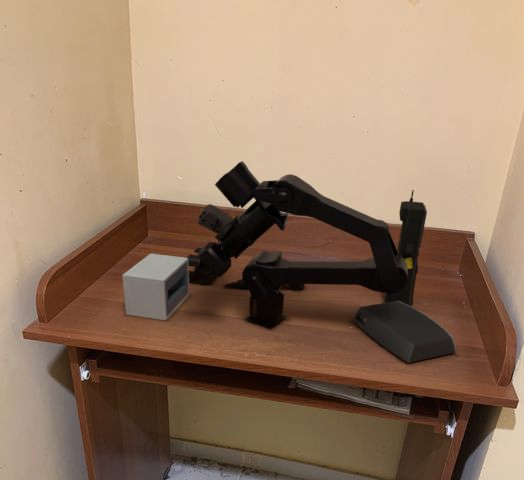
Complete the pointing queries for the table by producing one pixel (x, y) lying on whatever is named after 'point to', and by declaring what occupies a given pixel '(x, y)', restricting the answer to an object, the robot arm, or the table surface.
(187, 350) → the table surface
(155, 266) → the grey hollow block
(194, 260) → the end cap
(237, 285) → the microphone
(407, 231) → the portable radio
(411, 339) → the hard drive
